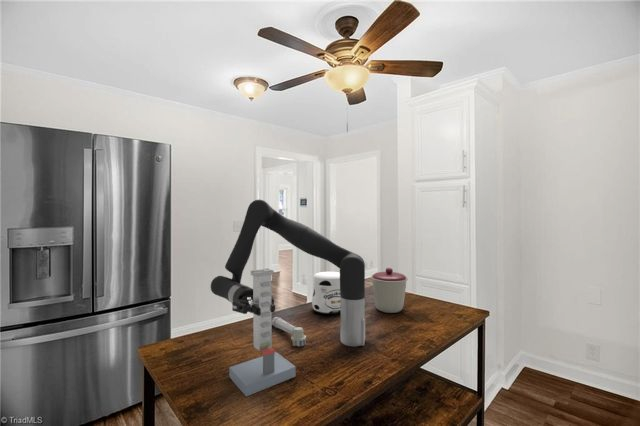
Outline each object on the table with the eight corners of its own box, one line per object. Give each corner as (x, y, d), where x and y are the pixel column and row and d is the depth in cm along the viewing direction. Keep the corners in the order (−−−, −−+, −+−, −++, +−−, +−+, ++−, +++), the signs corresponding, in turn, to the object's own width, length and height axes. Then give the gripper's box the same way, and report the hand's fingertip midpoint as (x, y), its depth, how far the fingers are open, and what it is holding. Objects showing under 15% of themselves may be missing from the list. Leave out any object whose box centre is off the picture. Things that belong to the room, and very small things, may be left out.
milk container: (336, 319, 139) (336, 280, 138) (304, 312, 148) (304, 276, 147) (352, 309, 153) (352, 273, 153) (323, 303, 162) (323, 269, 162)
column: (267, 342, 95) (267, 268, 95) (275, 347, 91) (275, 271, 91) (251, 347, 92) (250, 270, 91) (258, 353, 88) (257, 273, 87)
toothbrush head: (280, 315, 134) (307, 325, 113) (281, 330, 134) (309, 344, 113) (269, 317, 131) (295, 328, 110) (270, 333, 131) (296, 347, 110)
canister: (370, 303, 162) (370, 264, 162) (405, 304, 160) (405, 264, 160) (371, 315, 144) (371, 271, 144) (410, 317, 142) (410, 272, 142)
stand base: (276, 360, 102) (275, 332, 101) (295, 376, 92) (295, 345, 92) (229, 377, 92) (229, 345, 92) (246, 396, 82) (245, 361, 82)
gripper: (222, 289, 98) (244, 302, 85) (261, 282, 107) (287, 293, 94) (222, 312, 99) (244, 329, 85) (262, 303, 107) (287, 317, 94)
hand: (266, 310), depth 89 cm, fingers closed on column, 4 cm apart
